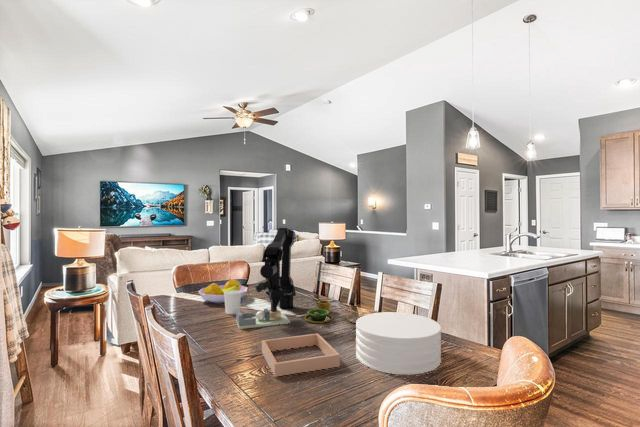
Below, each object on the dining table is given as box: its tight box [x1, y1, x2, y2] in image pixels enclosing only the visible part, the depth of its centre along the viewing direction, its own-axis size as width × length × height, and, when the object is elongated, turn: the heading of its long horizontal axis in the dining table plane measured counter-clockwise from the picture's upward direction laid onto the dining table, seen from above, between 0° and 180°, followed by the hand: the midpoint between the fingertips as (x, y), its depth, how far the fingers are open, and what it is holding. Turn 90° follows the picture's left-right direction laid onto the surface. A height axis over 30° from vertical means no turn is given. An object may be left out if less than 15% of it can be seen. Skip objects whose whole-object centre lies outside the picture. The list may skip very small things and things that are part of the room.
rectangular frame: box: [261, 332, 341, 377], centre depth 120 cm, size 21×21×4 cm
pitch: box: [235, 308, 291, 330], centre depth 160 cm, size 22×12×6 cm, turn 110°
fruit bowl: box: [197, 278, 248, 304], centre depth 199 cm, size 28×27×11 cm
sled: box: [263, 299, 282, 320], centre depth 162 cm, size 6×6×8 cm
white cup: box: [224, 290, 242, 315], centre depth 175 cm, size 8×8×10 cm
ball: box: [255, 310, 265, 320], centre depth 160 cm, size 4×4×4 cm
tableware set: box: [295, 299, 364, 329], centre depth 160 cm, size 41×28×6 cm
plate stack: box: [355, 311, 442, 375], centre depth 122 cm, size 28×28×12 cm
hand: (273, 308), depth 162 cm, fingers closed on sled, 3 cm apart
